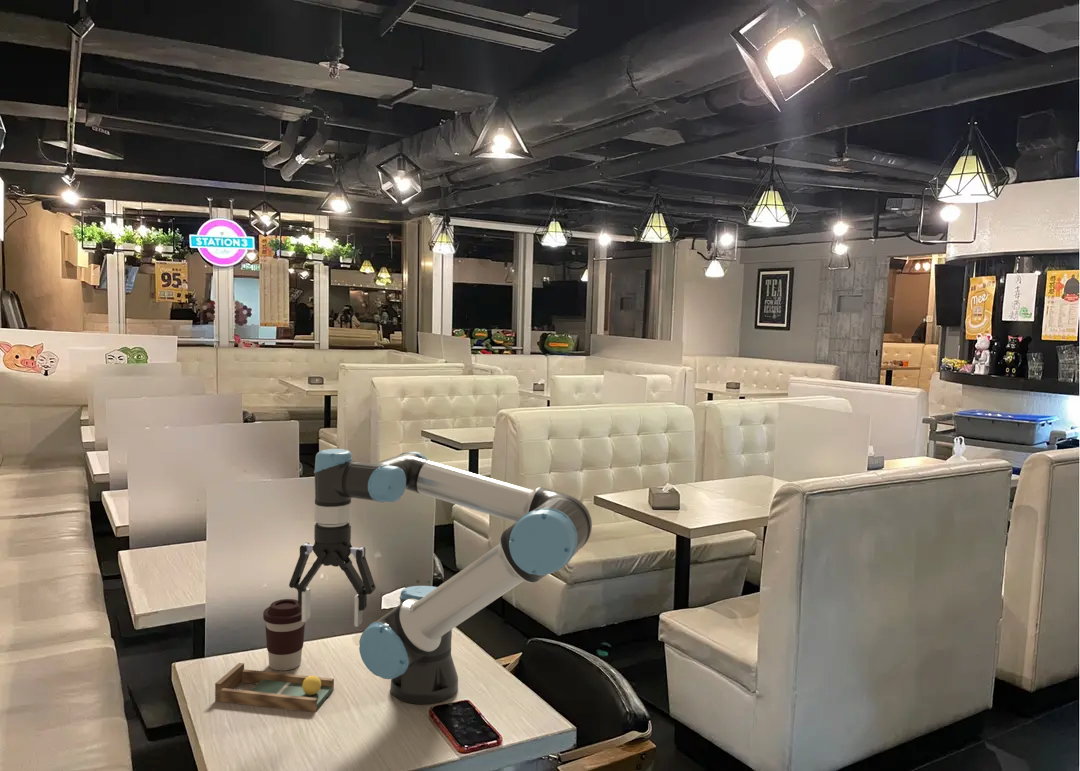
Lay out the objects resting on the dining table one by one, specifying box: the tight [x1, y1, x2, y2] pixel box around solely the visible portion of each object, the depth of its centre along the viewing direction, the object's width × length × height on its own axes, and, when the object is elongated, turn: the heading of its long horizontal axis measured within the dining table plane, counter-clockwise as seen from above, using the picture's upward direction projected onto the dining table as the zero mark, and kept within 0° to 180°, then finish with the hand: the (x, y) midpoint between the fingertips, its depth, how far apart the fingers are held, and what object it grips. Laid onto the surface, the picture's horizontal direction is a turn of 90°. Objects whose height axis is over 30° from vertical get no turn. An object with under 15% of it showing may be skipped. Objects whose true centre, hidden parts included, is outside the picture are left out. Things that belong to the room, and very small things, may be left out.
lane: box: [214, 662, 335, 713], centre depth 173 cm, size 23×10×4 cm, turn 82°
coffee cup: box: [262, 598, 306, 672], centre depth 187 cm, size 10×10×15 cm
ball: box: [302, 675, 321, 695], centre depth 171 cm, size 4×4×4 cm
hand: (332, 621), depth 169 cm, fingers open, 11 cm apart
